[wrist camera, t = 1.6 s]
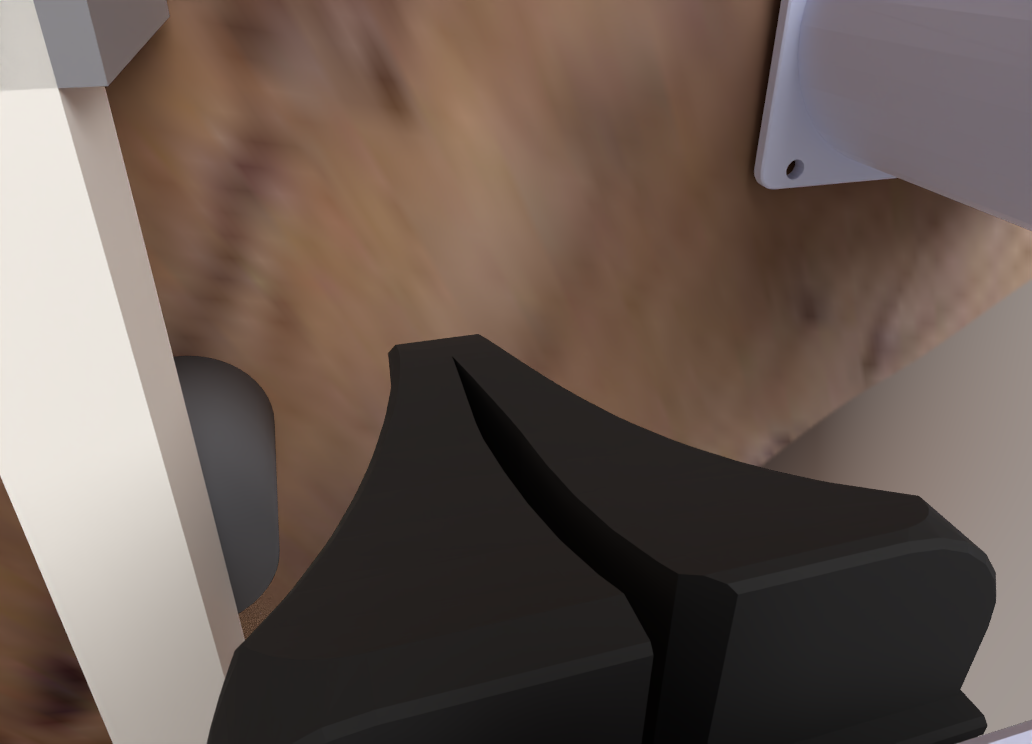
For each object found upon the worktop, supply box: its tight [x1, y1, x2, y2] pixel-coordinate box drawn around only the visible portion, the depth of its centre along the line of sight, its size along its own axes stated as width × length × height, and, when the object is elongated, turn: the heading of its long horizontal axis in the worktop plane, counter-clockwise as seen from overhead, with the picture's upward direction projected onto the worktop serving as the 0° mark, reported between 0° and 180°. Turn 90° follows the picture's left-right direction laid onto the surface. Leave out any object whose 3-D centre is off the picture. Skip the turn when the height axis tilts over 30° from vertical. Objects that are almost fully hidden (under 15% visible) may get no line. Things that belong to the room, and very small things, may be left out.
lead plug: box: [173, 356, 279, 613], centre depth 18 cm, size 4×4×5 cm
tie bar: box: [0, 0, 245, 744], centre depth 13 cm, size 3×16×8 cm, turn 0°
